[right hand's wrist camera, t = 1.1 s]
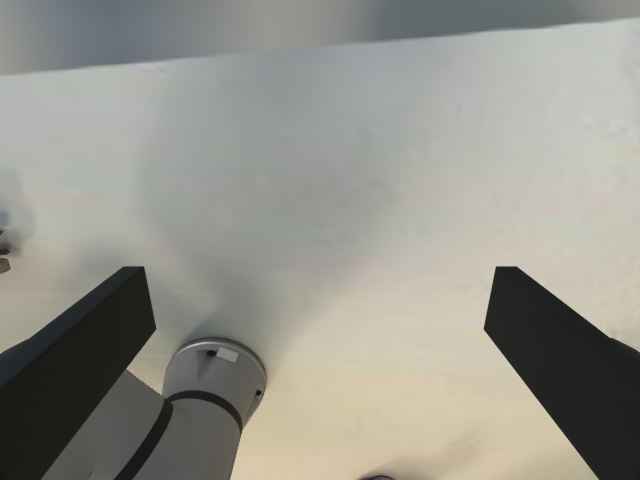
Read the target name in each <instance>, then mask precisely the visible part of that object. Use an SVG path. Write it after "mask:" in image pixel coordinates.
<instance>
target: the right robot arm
mask: <svg viewBox="0 0 640 480" xmlns="http://www.w3.org/2000/svg"><path fill="white" fill-rule="evenodd" d="M155 330H156V325H155V320H154V315H153V310H152V305H151V300H150V295H149V289H148V284H147V279H146V274H145V269H144V267H122V268H121V269H120V270H118V271H117V272H116V273H114V274H113V275H112V276H110V277H109V278H108V279H106V280H105V281H104V282H103V283H101V284H100V285H99V286H97V287H96V288H95V289H93V290H92V291H91V292H89V293H88V294H87V295H86V296H84V297H83V298H82V299H80V300H79V301H78V302H76V303H75V304H74V305H73V306H71V307H70V308H69V309H67V310H66V311H65V312H63V313H62V314H61V315H59V316H58V317H57V318H56V319H54V320H53V321H52V322H50V323H49V324H48V325H46V326H45V327H44V328H42V329H41V330H40V331H39V332H37V333H36V334H35V335H33V336H32V337H31V338H29V339H27V340H25V341H23V342H21V343H19V344H17V345H15V346H13V347H11V348H10V349H8V350H6V351H4V352H3V353H1V354H0V480H230V478H231V474H232V470H233V466H234V462H235V458H236V454H237V450H238V446H239V442H240V437H241V434H242V430H243V428H244V427H245V425H246V424H247V422H248V421H249V419H250V418H251V416H252V415H253V414H254V412H255V411H256V409H257V408H258V406H259V404H260V402H261V400H262V398H263V395H264V391H265V386H266V374H265V370H264V367H263V365H262V363H261V362H260V360H259V359H258V358H257V356H256V355H255V354H254V353H253V352H252V351H250V350H249V349H248V348H246V347H245V346H243V345H241V344H239V343H237V342H234V341H232V340H228V339H224V338H216V337H209V338H201V339H197V340H194V341H191V342H189V343H187V344H185V345H184V346H182V347H181V348H180V349H179V350H178V351H177V352H176V353H175V355H174V356H173V358H172V360H171V361H170V363H169V365H168V367H167V370H166V373H165V378H164V384H163V391H162V396H161V395H160V394H159V393H157V392H156V391H155V390H153V389H152V388H150V387H149V386H148V385H146V384H145V383H144V382H142V381H141V380H140V379H138V378H137V377H136V376H134V375H133V374H132V373H130V372H129V371H128V370H126V368H127V367H128V365H129V364H130V363H131V362H132V360H133V359H134V358H135V356H136V355H137V354H138V352H139V351H140V350H141V349H142V347H143V346H144V345H145V343H146V342H147V341H148V339H149V338H150V337H151V335H152V334H153V333H154V332H155ZM484 330H485V332H486V333H487V334H488V335H489V337H490V338H491V339H492V341H493V342H494V343H495V345H496V346H497V347H498V349H499V350H500V351H501V352H502V354H503V355H504V356H505V358H506V359H507V360H508V362H509V363H510V364H511V365H512V367H513V368H514V369H515V371H516V372H517V373H518V375H519V376H520V377H521V378H522V380H523V381H524V382H525V384H526V385H527V386H528V388H529V389H530V390H531V392H532V393H533V394H534V395H535V397H536V398H537V399H538V401H539V402H540V403H541V405H542V406H543V407H544V408H545V410H546V411H547V412H548V414H549V415H550V416H551V418H552V419H553V420H554V421H555V423H556V424H557V425H558V427H559V428H560V429H561V431H562V432H563V433H564V435H565V436H566V437H567V438H568V440H569V441H570V442H571V444H572V445H573V446H574V448H575V449H576V450H577V451H578V453H579V454H580V455H581V457H582V458H583V459H584V461H585V462H586V463H587V464H588V466H589V467H590V468H591V470H592V471H593V472H594V474H595V475H596V476H597V478H598V479H599V480H640V352H638V351H637V350H635V349H633V348H631V347H629V346H627V345H626V344H624V343H622V342H620V341H618V340H616V339H614V338H609V337H608V336H607V335H605V334H604V333H603V332H601V331H600V330H599V329H598V328H596V327H595V326H594V325H592V324H591V323H590V322H588V321H587V320H586V319H584V318H583V317H582V316H581V315H579V314H578V313H577V312H575V311H574V310H573V309H571V308H570V307H569V306H567V305H566V304H565V303H564V302H562V301H561V300H560V299H558V298H557V297H556V296H554V295H553V294H552V293H551V292H549V291H548V290H547V289H545V288H544V287H543V286H541V285H540V284H539V283H537V282H536V281H535V280H534V279H532V278H531V277H530V276H528V275H527V274H526V273H524V272H523V271H522V270H520V269H519V268H518V267H496V269H495V274H494V279H493V284H492V289H491V295H490V300H489V305H488V310H487V315H486V320H485V325H484Z"/></svg>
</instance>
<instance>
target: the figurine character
mask: <svg viewBox="0 0 640 480" xmlns="http://www.w3.org/2000/svg"><path fill="white" fill-rule="evenodd" d="M2 233H3V231H0V234H2ZM9 252H10V251H9V250H8V249H0V255H7V254H8V253H9ZM8 270H10V265H9V262H8V259H5V258H0V274H1V273H4V272H7V271H8Z"/></svg>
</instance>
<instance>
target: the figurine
mask: <svg viewBox="0 0 640 480" xmlns="http://www.w3.org/2000/svg"><path fill="white" fill-rule="evenodd" d="M373 480H391V479H388V478H385V477H377V478H374V479H373Z"/></svg>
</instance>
